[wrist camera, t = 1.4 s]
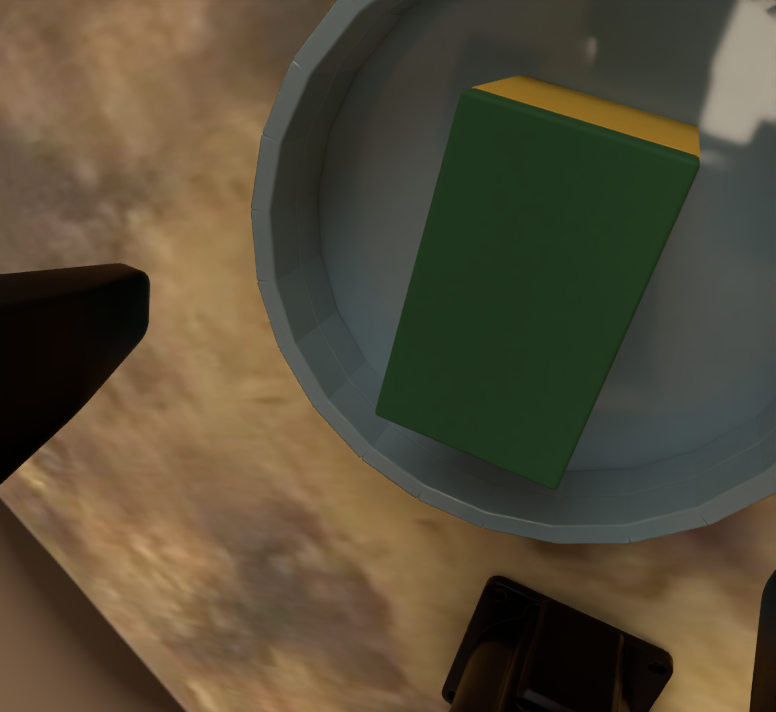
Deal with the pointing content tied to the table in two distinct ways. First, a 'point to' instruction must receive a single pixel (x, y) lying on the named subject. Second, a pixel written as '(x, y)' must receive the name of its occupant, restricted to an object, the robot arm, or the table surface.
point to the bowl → (409, 214)
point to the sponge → (532, 269)
